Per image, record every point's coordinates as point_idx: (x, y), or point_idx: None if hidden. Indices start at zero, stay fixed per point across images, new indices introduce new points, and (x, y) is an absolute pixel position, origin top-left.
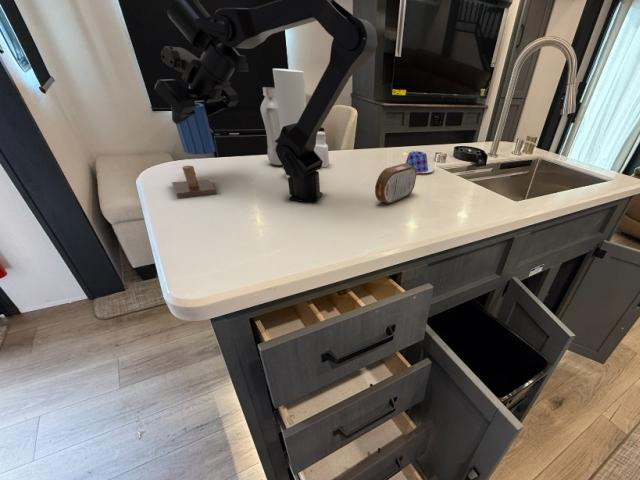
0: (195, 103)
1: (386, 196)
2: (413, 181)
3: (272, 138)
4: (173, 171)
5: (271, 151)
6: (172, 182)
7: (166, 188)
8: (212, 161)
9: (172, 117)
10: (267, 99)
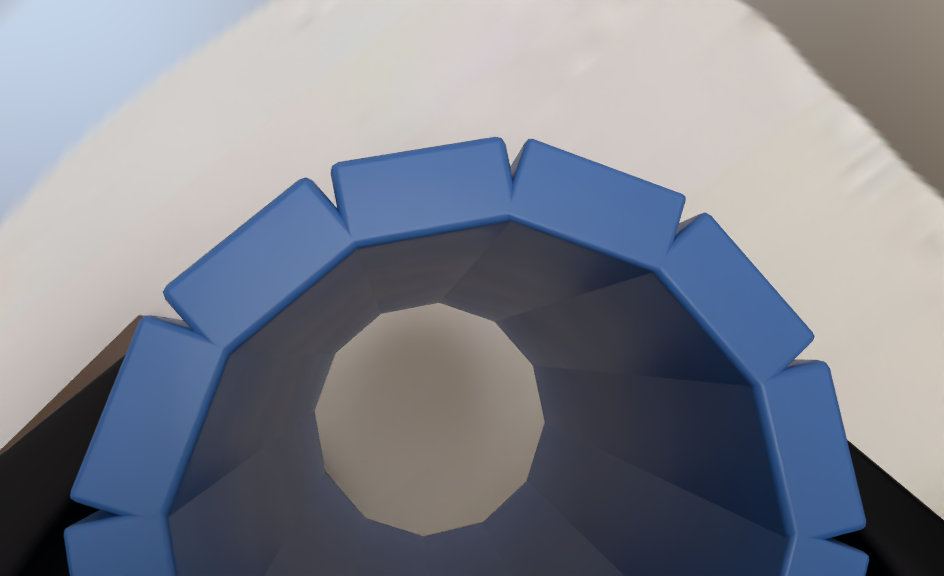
0: (794, 509)
1: None
2: None
3: None
4: (455, 80)
5: None
6: (137, 322)
7: (115, 290)
8: (792, 156)
9: (117, 369)
10: None
